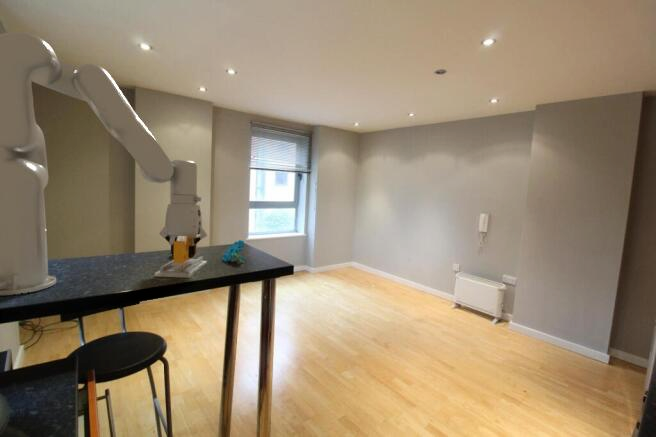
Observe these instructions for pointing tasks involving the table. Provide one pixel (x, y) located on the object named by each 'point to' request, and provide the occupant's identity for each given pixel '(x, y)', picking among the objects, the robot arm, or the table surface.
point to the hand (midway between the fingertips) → (183, 256)
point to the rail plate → (181, 268)
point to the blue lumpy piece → (234, 252)
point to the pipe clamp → (182, 251)
